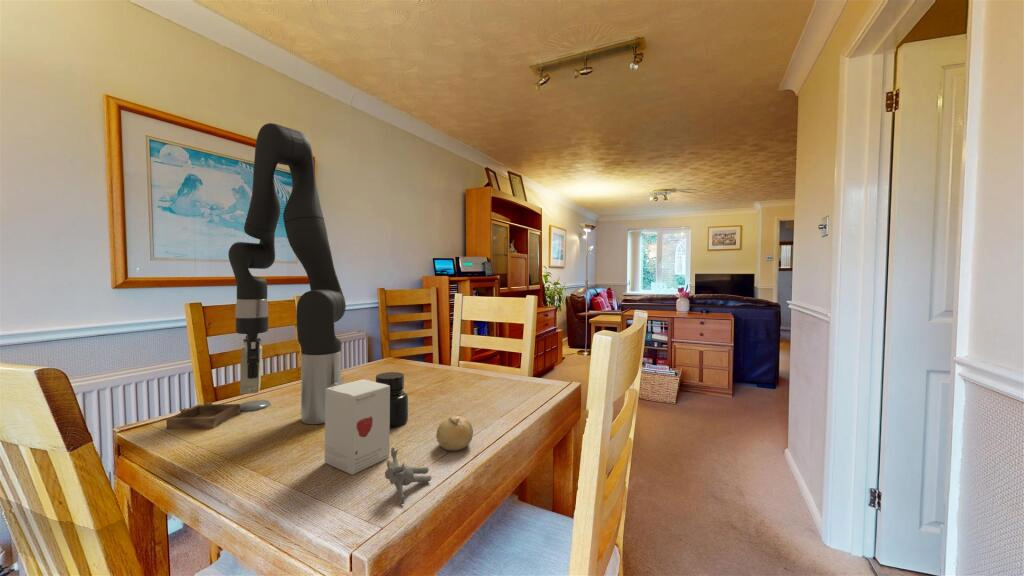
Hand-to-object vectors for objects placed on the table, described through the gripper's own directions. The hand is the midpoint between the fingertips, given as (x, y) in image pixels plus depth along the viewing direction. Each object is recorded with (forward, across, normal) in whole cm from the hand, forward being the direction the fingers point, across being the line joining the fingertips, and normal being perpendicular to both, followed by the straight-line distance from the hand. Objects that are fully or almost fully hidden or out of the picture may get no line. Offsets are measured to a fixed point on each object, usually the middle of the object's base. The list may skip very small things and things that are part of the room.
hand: (252, 375), depth 107 cm
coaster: (+9, 0, 0) cm, 9 cm away
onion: (+9, -54, -35) cm, 65 cm away
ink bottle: (+9, -32, -28) cm, 43 cm away
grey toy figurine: (+9, -64, -20) cm, 67 cm away
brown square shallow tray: (+9, -6, +10) cm, 14 cm away
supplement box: (+9, -49, -16) cm, 52 cm away
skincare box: (+5, 0, 0) cm, 5 cm away
